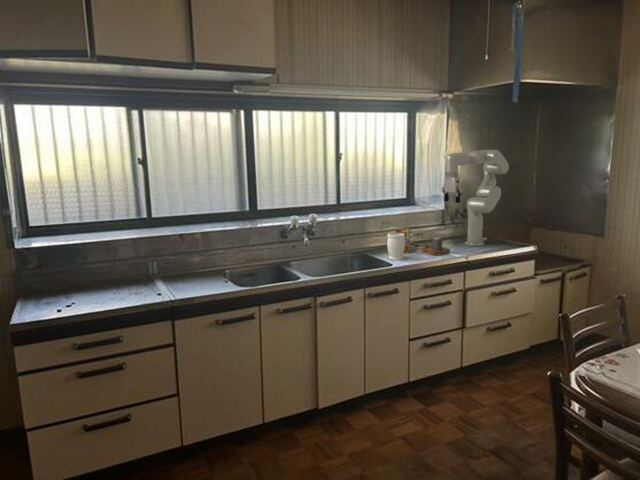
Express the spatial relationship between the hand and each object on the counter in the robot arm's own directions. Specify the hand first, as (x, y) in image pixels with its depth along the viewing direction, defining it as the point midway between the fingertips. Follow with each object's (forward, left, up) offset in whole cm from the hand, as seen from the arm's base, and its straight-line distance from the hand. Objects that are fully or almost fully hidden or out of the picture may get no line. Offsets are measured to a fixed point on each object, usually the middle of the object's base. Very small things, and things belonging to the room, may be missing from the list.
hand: (452, 201), depth 307 cm
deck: (+5, -3, -31) cm, 31 cm away
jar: (+43, -2, -31) cm, 53 cm away
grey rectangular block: (+17, +6, -31) cm, 36 cm away
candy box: (+29, -13, -31) cm, 44 cm away
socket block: (+17, +1, -31) cm, 35 cm away
